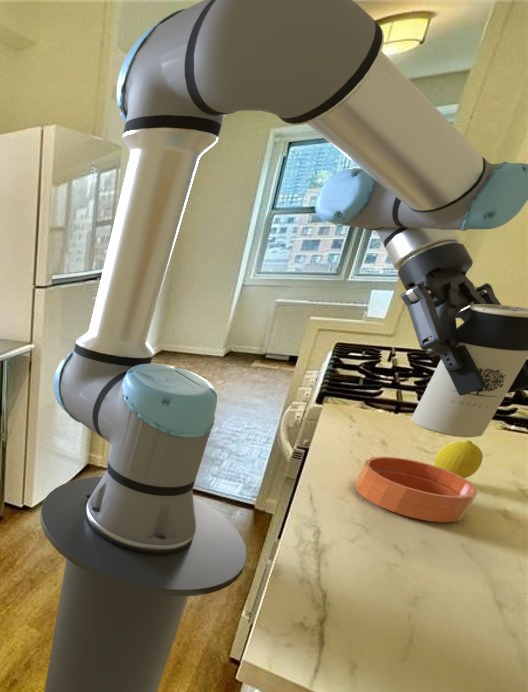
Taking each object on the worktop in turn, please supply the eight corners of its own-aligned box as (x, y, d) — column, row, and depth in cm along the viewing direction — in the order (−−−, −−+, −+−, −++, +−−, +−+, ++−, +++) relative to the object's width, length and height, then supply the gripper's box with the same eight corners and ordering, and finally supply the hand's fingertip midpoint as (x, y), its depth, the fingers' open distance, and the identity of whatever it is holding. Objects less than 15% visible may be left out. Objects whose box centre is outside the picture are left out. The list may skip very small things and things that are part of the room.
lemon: (459, 476, 89) (481, 437, 85) (474, 490, 84) (499, 450, 81) (420, 470, 91) (441, 432, 87) (433, 484, 87) (456, 444, 83)
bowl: (348, 501, 81) (360, 475, 79) (358, 473, 90) (369, 449, 88) (462, 535, 73) (479, 508, 70) (461, 501, 81) (476, 475, 79)
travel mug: (411, 414, 79) (468, 301, 71) (480, 428, 74) (550, 309, 66) (408, 427, 74) (468, 308, 66) (481, 444, 69) (557, 316, 61)
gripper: (398, 239, 70) (469, 380, 63) (511, 240, 73) (591, 374, 66) (348, 273, 77) (408, 404, 70) (454, 273, 80) (521, 397, 73)
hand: (497, 389), depth 68 cm, fingers closed on travel mug, 8 cm apart
